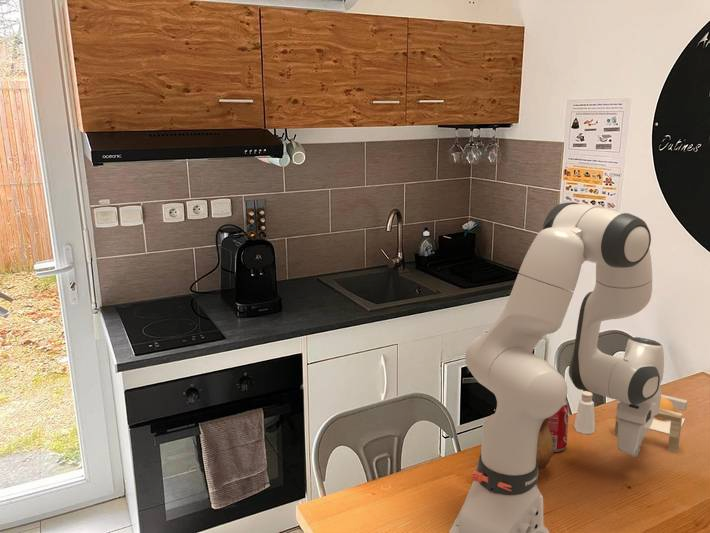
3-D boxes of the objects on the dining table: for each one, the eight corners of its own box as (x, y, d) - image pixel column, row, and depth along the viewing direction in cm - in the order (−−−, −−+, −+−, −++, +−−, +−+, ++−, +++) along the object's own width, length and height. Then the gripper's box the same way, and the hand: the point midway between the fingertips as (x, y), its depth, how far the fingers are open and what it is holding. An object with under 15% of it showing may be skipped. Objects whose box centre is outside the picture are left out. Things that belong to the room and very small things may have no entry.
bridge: (676, 453, 150) (680, 418, 147) (614, 435, 159) (617, 402, 156) (678, 448, 152) (682, 413, 150) (617, 431, 161) (620, 398, 159)
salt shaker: (594, 436, 158) (597, 398, 156) (573, 432, 161) (575, 395, 158) (595, 427, 163) (598, 390, 161) (574, 423, 166) (577, 387, 163)
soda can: (568, 454, 150) (571, 407, 147) (539, 451, 151) (541, 405, 148) (564, 440, 156) (567, 395, 154) (536, 438, 158) (539, 393, 155)
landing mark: (676, 436, 158) (677, 435, 158) (629, 423, 165) (629, 422, 165) (685, 419, 167) (685, 418, 167) (639, 408, 174) (639, 407, 174)
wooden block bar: (685, 410, 172) (685, 402, 172) (648, 401, 178) (648, 394, 178) (686, 408, 174) (687, 400, 173) (649, 399, 180) (650, 391, 179)
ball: (675, 412, 169) (671, 425, 165) (653, 407, 172) (648, 420, 168) (676, 396, 166) (671, 408, 162) (653, 391, 170) (648, 403, 166)
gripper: (636, 384, 152) (631, 433, 155) (614, 413, 136) (609, 467, 139) (662, 390, 148) (657, 440, 151) (643, 421, 132) (638, 476, 135)
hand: (634, 453), depth 145 cm, fingers closed
